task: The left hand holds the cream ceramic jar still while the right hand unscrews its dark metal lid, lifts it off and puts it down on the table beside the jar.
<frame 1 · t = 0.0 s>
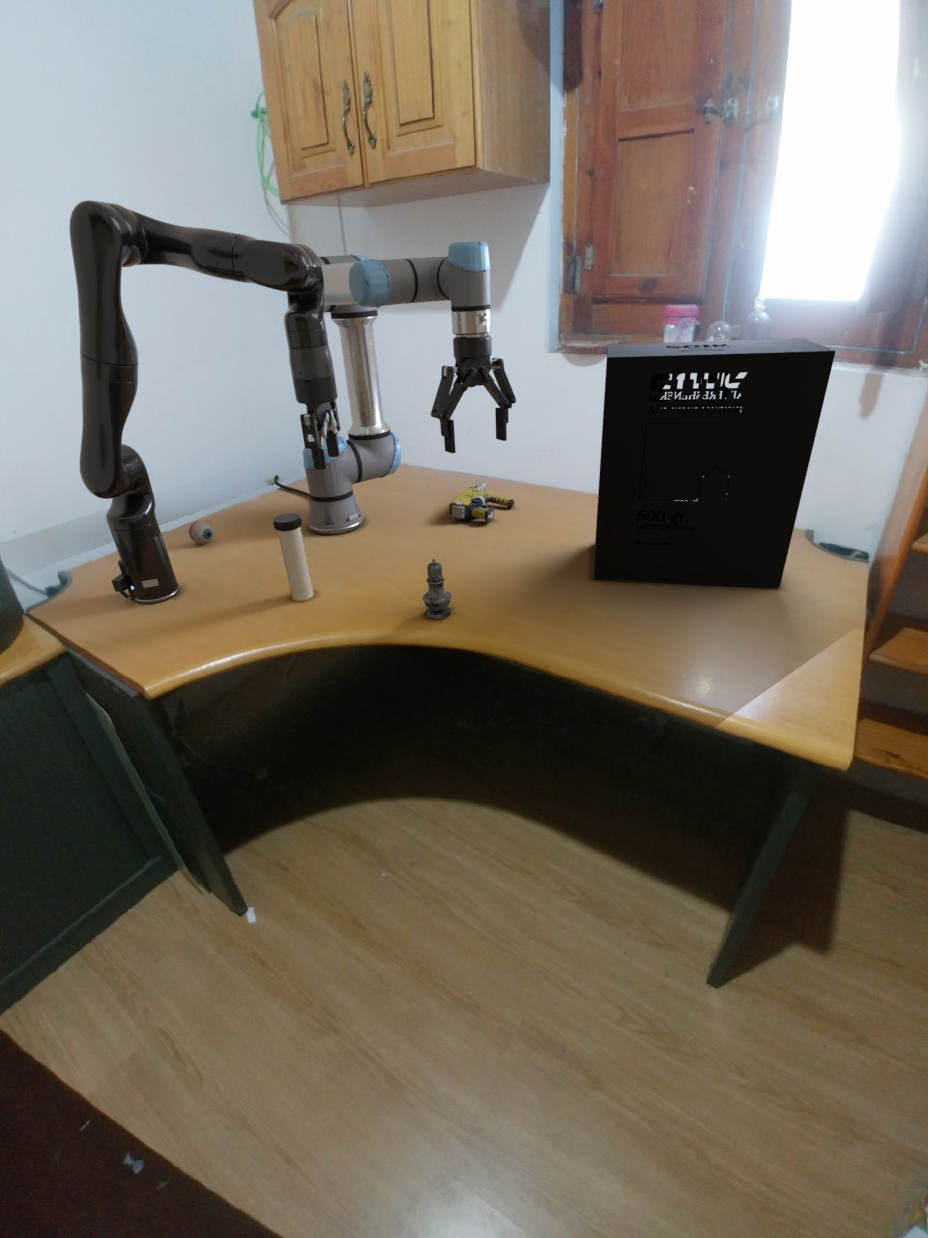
left hand: (327, 462, 117), 29 cm above the table, tool pointing down, fingers open, 8 cm apart
right hand: (476, 445, 127), 28 cm above the table, tool pointing down, fingers open, 13 cm apart
cardboard box: (678, 564, 137), on the table
toy gun: (486, 509, 174), on the table
jar: (303, 595, 133), on the table
eyeball: (204, 543, 163), on the table
lid: (286, 519, 124), point 18 cm above the table, screwed on, not yet turned
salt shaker: (438, 613, 123), on the table
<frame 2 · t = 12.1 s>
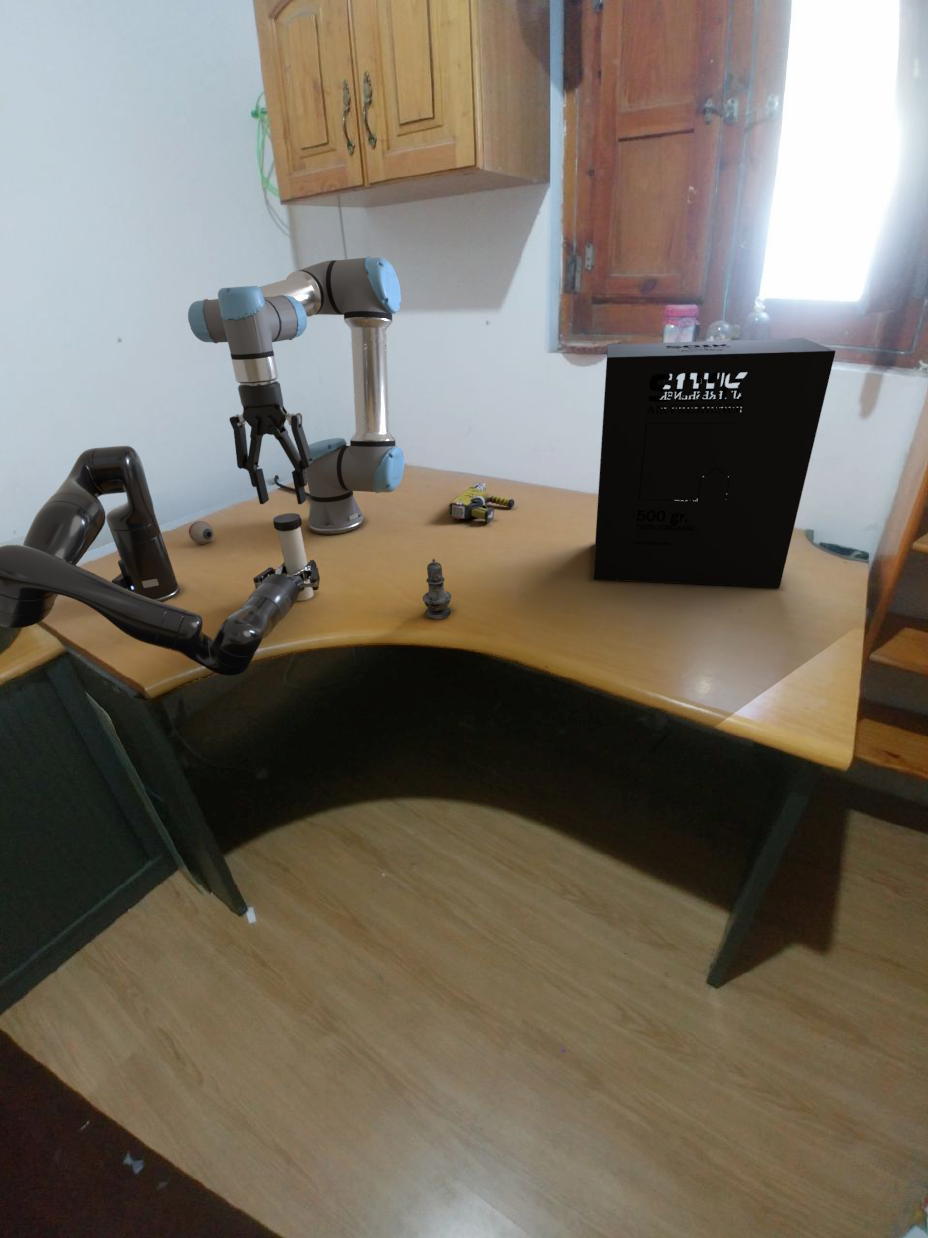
left hand: (301, 563, 132), 7 cm above the table, tool horizontal, fingers closed on jar, 4 cm apart
right hand: (283, 501, 122), 22 cm above the table, tool pointing down, fingers open, 7 cm apart
jar: (303, 595, 133), on the table, touching left hand
everything else where it was.
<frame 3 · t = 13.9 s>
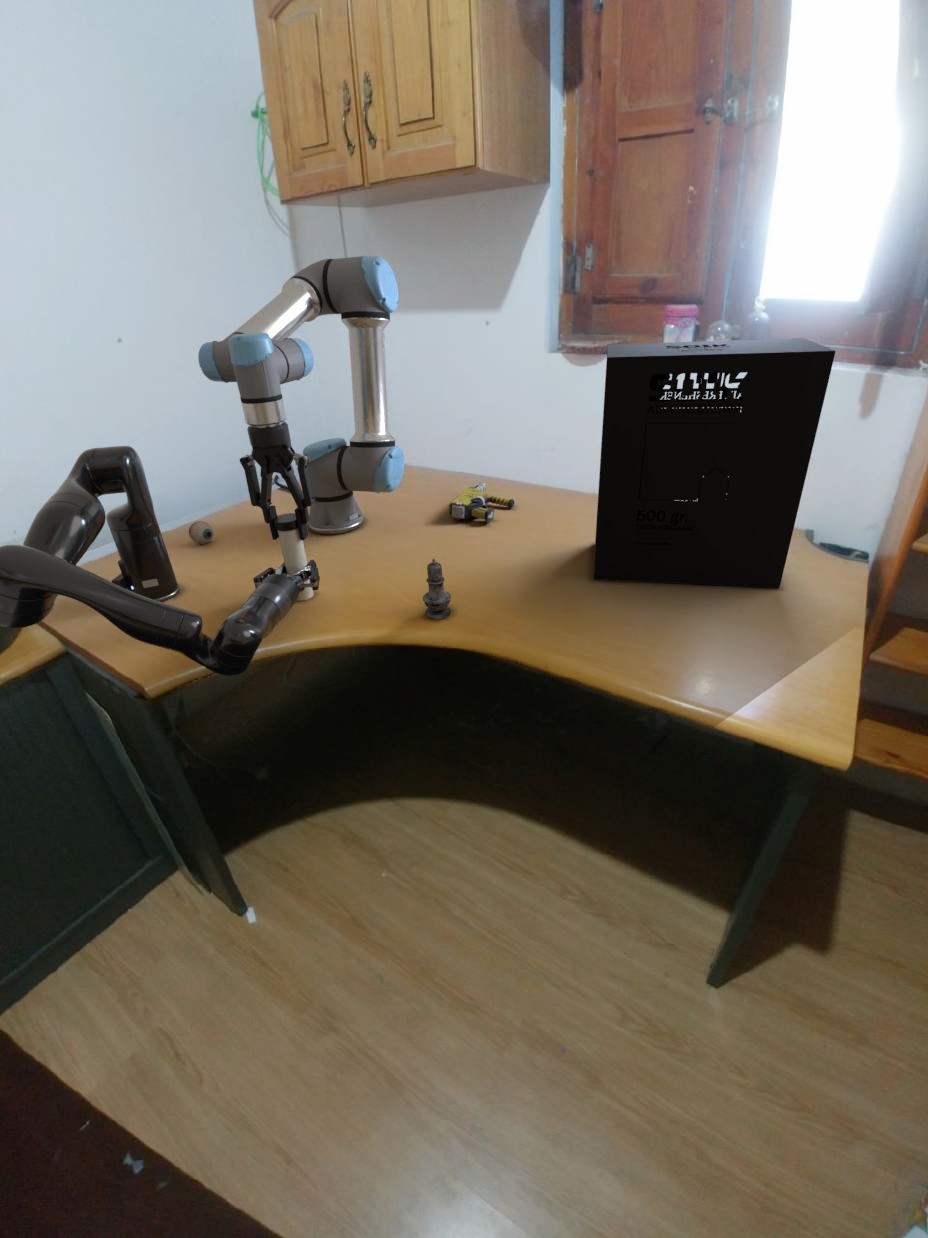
left hand: (301, 563, 132), 7 cm above the table, tool horizontal, fingers closed on jar, 4 cm apart
right hand: (290, 537, 126), 14 cm above the table, tool pointing down, fingers closed on lid, 5 cm apart
jar: (303, 595, 133), on the table, touching left hand
lid: (286, 519, 124), point 18 cm above the table, screwed on, not yet turned, touching right hand
everything else where it was.
when the right hand's fingers open (0 cm above the table, at t = 22.9 s): lid stays where it is, point 1 cm above the table.
when the left hand's fingers open (7 cm above the table, at t = 23.9 s): jar stays where it is, on the table.
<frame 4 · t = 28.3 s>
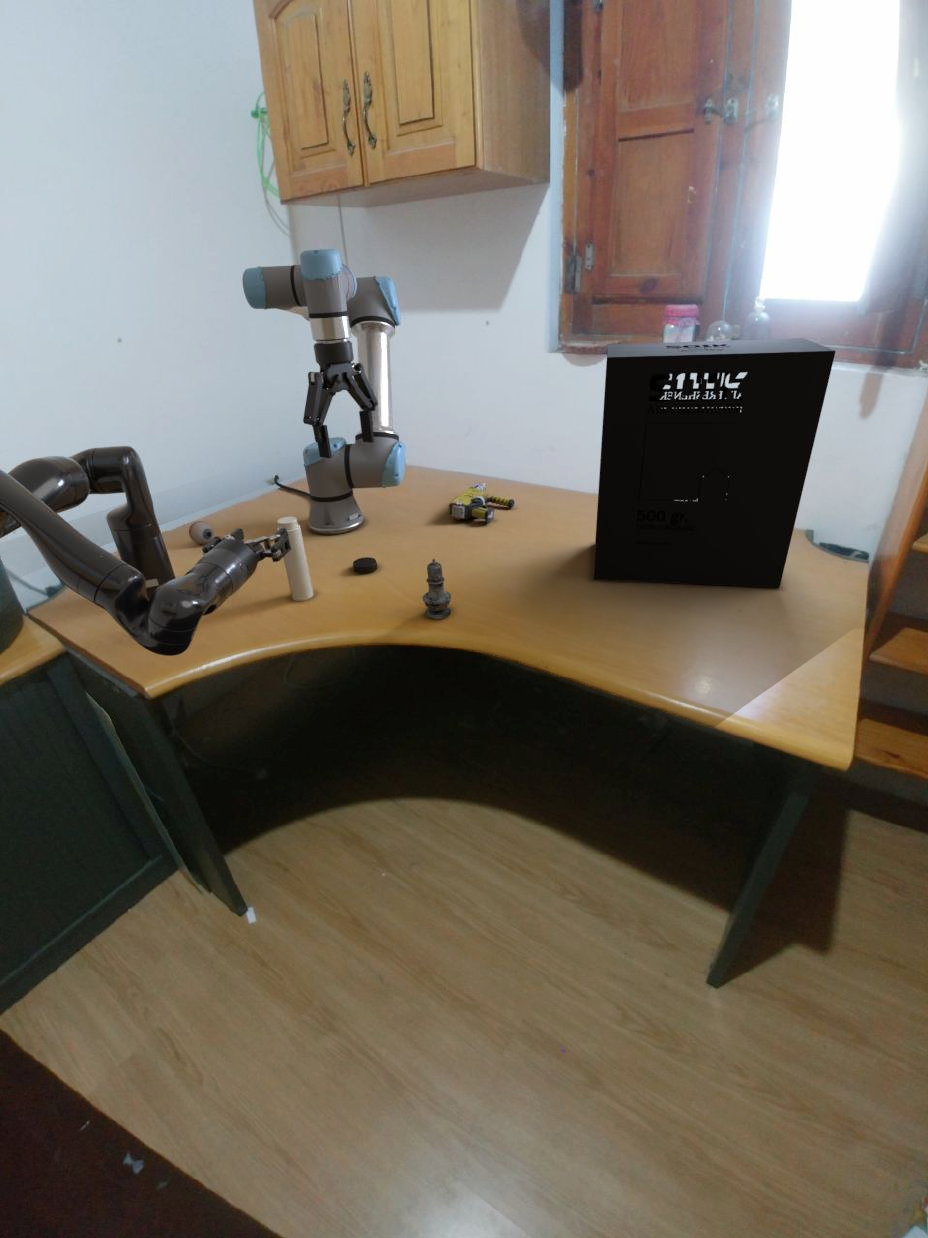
left hand: (263, 532, 113), 19 cm above the table, tool horizontal, fingers open, 8 cm apart
right hand: (348, 449, 129), 28 cm above the table, tool pointing down, fingers open, 13 cm apart
jar: (302, 595, 133), on the table
lid: (364, 563, 142), point 1 cm above the table, off its thread
everything else where it was.
at the end: lid came off its thread; lid point 1.5 cm above the table; the left hand is holding nothing; the right hand is holding nothing; jar tilted 0°; jar moved 0.0 cm from its start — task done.
